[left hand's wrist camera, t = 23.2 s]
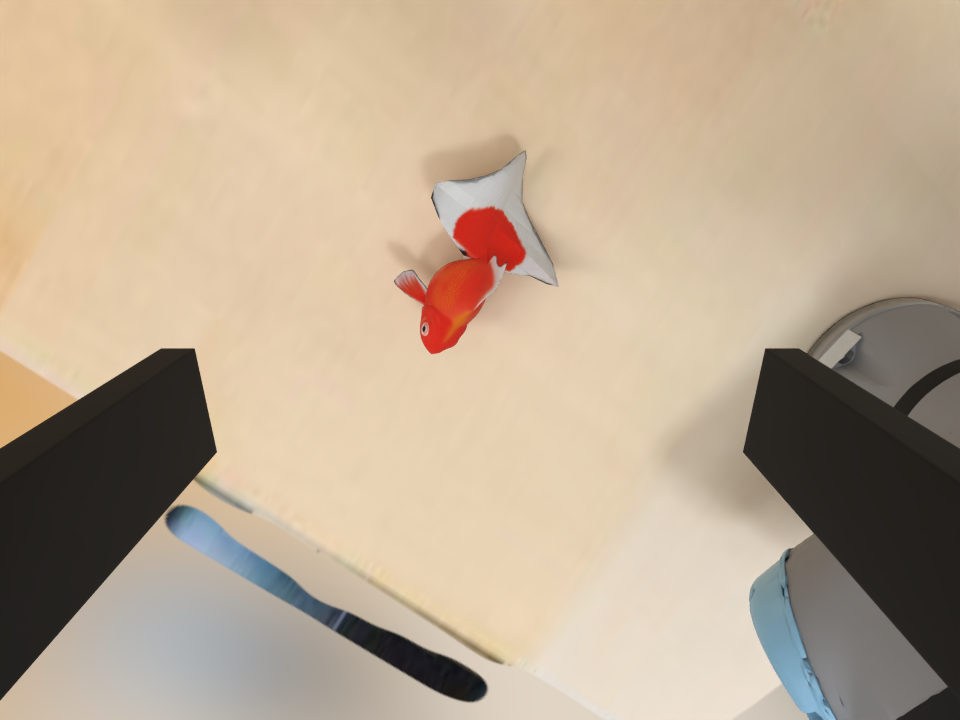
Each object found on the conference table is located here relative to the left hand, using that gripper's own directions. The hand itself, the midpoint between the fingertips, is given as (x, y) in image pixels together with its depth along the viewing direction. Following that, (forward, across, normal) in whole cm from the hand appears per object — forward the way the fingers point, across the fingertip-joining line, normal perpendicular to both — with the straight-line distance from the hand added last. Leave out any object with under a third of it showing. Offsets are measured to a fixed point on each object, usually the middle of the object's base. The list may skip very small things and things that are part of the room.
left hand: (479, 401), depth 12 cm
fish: (+32, 0, +2) cm, 32 cm away
